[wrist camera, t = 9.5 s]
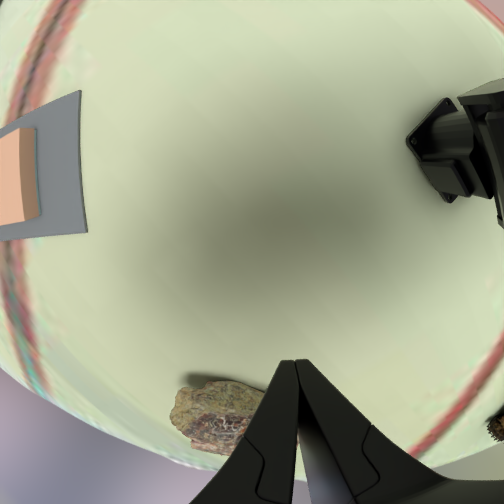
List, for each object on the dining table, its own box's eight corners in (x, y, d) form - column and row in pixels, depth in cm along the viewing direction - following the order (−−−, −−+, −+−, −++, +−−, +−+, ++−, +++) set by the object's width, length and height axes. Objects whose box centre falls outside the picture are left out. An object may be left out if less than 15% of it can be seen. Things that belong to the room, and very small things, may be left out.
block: (19, 127, 14) (-28, 156, 14) (24, 220, 16) (-22, 230, 17) (37, 128, 16) (-13, 154, 16) (41, 215, 18) (-8, 224, 19)
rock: (153, 414, 17) (200, 481, 19) (299, 397, 16) (319, 470, 17) (178, 370, 24) (212, 436, 26) (293, 349, 23) (312, 421, 24)
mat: (81, 90, 16) (79, 89, 15) (87, 231, 19) (85, 232, 19) (-27, 148, 16) (-29, 148, 16) (-19, 243, 20) (-21, 243, 20)
